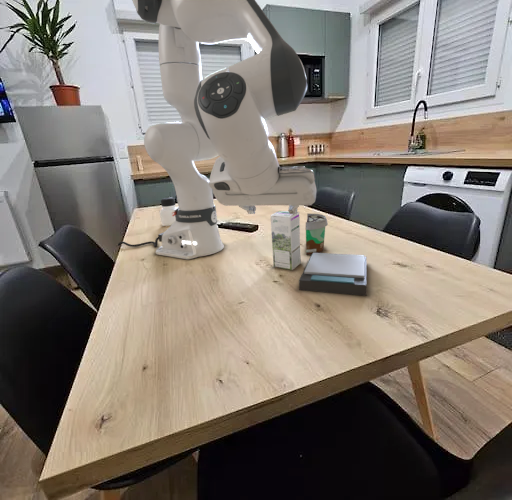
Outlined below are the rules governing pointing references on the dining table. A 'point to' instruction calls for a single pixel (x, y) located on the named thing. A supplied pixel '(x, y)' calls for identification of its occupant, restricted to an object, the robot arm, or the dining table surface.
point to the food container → (315, 233)
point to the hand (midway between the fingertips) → (272, 211)
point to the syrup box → (285, 239)
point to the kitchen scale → (335, 274)
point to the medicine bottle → (168, 211)
